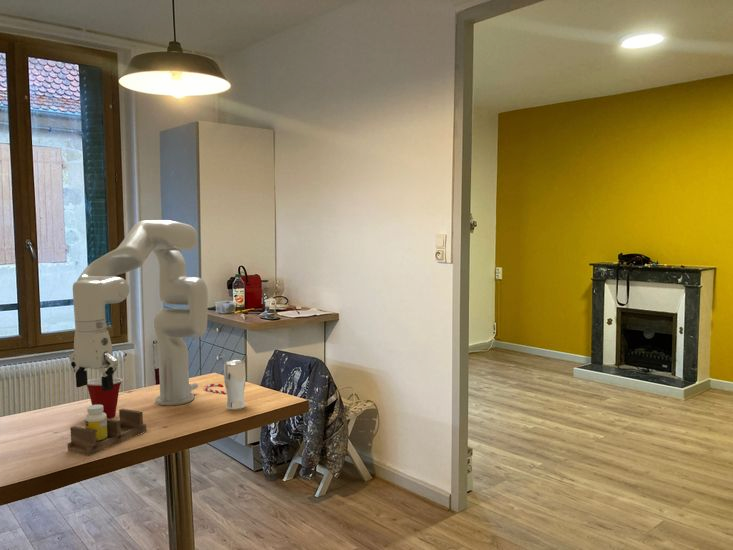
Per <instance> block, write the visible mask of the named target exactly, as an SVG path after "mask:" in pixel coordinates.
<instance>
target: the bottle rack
mask: <svg viewBox="0 0 733 550" xmlns="http://www.w3.org/2000/svg"><path fill="white" fill-rule="evenodd" d="M143 413H144V412H143V411H140V410H135V409H134V410H132V409H127V408H120V409H118V414H119V415H118V416H119V418H118V419H113V418H110V419H108V418H107V433H108V439H106V440H103V441H101V442H99V443H96V430H92V429H87V428H85V427H81V426H75V425H73V426H70V429H69V430H70V442H67V443H66V444H67V446H66V447H67V453H73V454H77V453H78V455H82V456H87V455H88V456H87V457H90V456H93V455H94V454H97V453H100V452H102V451H104V450H107V449H108V448H111V447H113V446H117V445H118V444H121V443H123V442H126V441H128V440H129V438H130V439H132V438H135V437H136V435H137V436H139V435H142V434H144V433H146V432H147V423H144V418H143V417H144V416H143V415H144V414H143ZM143 432H144V433H143ZM141 433H142V434H141ZM138 434H139V435H138ZM134 436H135V437H134ZM131 437H132V438H131ZM127 439H128V440H127ZM122 441H123V442H122ZM106 448H107V449H106Z"/></svg>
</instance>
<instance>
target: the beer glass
mask: <svg viewBox="0 0 733 550" xmlns="http://www.w3.org/2000/svg"><path fill="white" fill-rule="evenodd" d="M246 376H247V375H246V365H245V361H244V360H240V359H232V360H227V361H225V362H223V380H224V386H225V391H226V392H227V394H226V396H227V397H226V405H225V407H226V409H227V410H229V411H238V410H242V409H245V408H246V402H245V396H244V395H245V387H246Z"/></svg>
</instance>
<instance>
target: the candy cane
mask: <svg viewBox="0 0 733 550" xmlns="http://www.w3.org/2000/svg"><path fill="white" fill-rule="evenodd" d="M213 387H220V388H224V384H221V383H210V384H206V385H205V386H204V387H203V391H205V392H207V393H211V392H212V393H213V394H218V393H219V394H218V395H227V392H226V390H217V389H211V388H213Z"/></svg>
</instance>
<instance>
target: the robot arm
mask: <svg viewBox="0 0 733 550" xmlns="http://www.w3.org/2000/svg"><path fill="white" fill-rule="evenodd" d="M197 243H198V233H197V231H196V228H195V227H193V225H191V224H187V223H183V222H179V221H174V220H169V219H165V220H164V219H162V220H161V219H156V220H155V219H149V220H140V221H138V222H136V223H135V224H134V225H133V226H132V228H131V229H130V230H129V232H128V233H127V235H126V236H125V237H124V239H123V240H121V242H120V244H119V245H118V246H117V248H115V249H113V250H111V251H109V252H107V253H106V254H104V255H102V256H100V257H99V258H96V259H95V260H94V261H92V262H91V263H89V264H88V265H87V266H86V268H85V269H83V271H82V272H81V274H80V275H79V277H78V279H77V280H76V281H74V282H73V284H72V299H73V312H74V326H75V331H74V337H73V339H74V340H73V352H72V353H70V354H69V355H68V359H69V362H70V365H71V367H72V368H73V373H74V374H75V386H76V388H81V387H83V386H84V387H85V386H87V384H88V372H87V370H86V369H92V370H98V371H100V373H101V374H102V376H101V377H100V378H101V380H102V391H108V390H111V389H113V378H114V377H113V376H114V375H115V372H116V370H117V367H118V364H119V360H118V359H117V358H115V357H114V354H113V353H114V352H113V346H112V345H113V344H112V341H111V337H110V336H111V335H110V333H109V330H108V329H107V320H106V319H107V318H106V304H107V305H108V304H109V305H110V304H118V303H122V302H123V301H124V300H126V299H127V298H128V296H129V294H130V285H129V283H128V281H127V280H126V279H124V278H123V277H120V276H118V275H123V274H125V273H130V272H131V271H135V270H137V269H140V267H142V266H143V264H144V263H145V261H146V260H147V259H148V257H149V256H150V254H151V253H152V252H153V253H154V255H155V256H156V258H157V260H158V264H159V265H158V267H159V275H158V276H159V281H158V283H159V285H158V287H159V288H158V290H159V293H158V295H159V299H160V301H161V302H162V303H163V304H165V305H172V306H173V305H175V306H179V305H180V306H188V308H163V309H161V310H159V311H158V312H156V314H155V315H154V319H153V326H154V332H155V335H156V342H157V351H158V375H159V394H160V395H158V396H157V397H155V399H154V400H155V403H156V404H157V405H161V406H178V405H182V404H183V405H184V404H188V403H190V402H192V401H193V400H194V399H195V394H194V393H192V391H193V390H195V389H197V388H198V386H199V384H198V383H197V382H195V383H192V384H190V381H189V380H190V379H189V377H190V376H189V375H190V374H189V373H190V372H189V352H188V351H189V350H188V345H187V344H186V341H184V339H183V338H195V339H196V338H201V337H202V336H204V335H205V333H206V331H207V328H208V327H207V326H208V300H209V299H208V297H209V296H208V295H209V294H208V287H207V283H206V282H205V280H204V279H202V278H201V277H198V276H187V273H186V271H187V270H186V267H187V266H186V265H187V264H186V261H185V258H184V256H183V255H182V253H181V252H180V251H183V252H184V251H190V250H193V249H194V248H195V247H196V245H197Z"/></svg>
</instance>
